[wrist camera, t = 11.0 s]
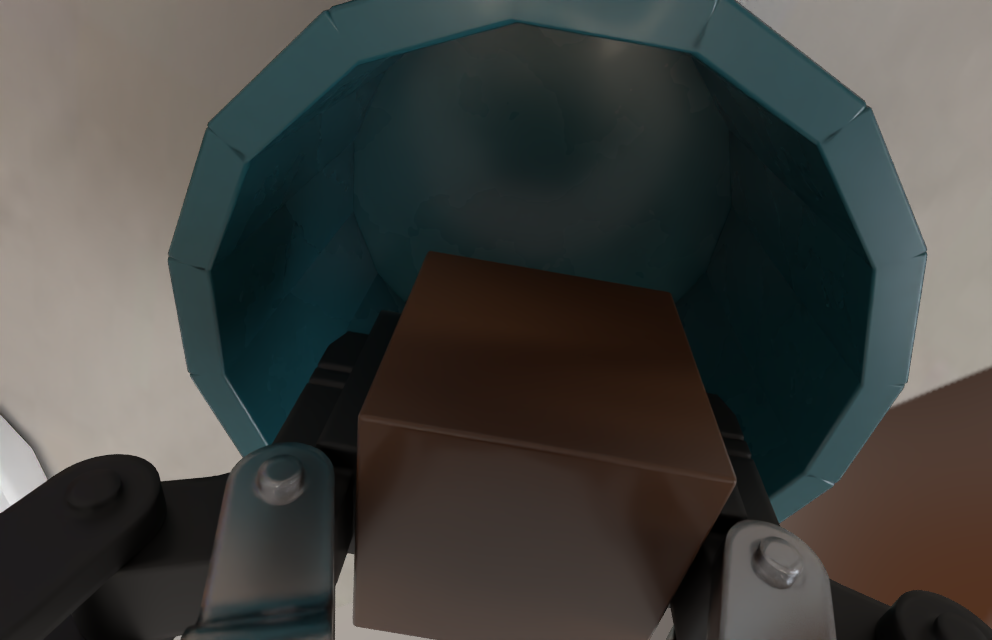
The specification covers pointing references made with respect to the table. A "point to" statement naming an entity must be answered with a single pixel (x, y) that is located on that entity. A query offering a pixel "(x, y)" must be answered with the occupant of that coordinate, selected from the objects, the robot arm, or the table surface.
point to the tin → (560, 204)
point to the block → (532, 459)
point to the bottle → (16, 467)
